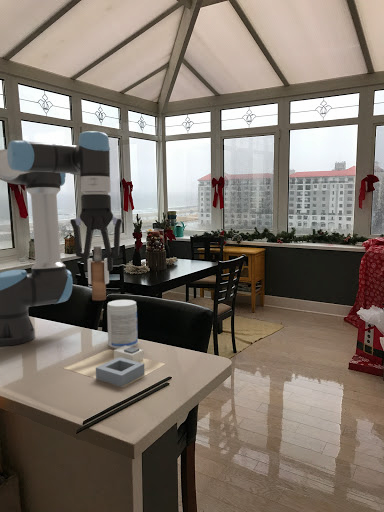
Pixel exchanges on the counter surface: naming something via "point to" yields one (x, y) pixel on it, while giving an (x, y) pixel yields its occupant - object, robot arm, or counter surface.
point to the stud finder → (129, 353)
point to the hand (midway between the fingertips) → (98, 282)
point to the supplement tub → (122, 323)
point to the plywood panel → (91, 363)
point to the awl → (98, 276)
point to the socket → (120, 371)
